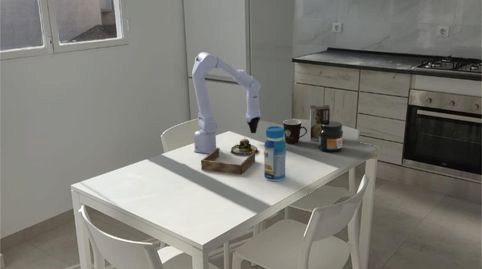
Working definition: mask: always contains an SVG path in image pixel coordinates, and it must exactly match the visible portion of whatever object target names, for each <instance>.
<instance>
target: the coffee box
mask: <svg viewBox="0 0 482 269" xmlns="http://www.w3.org/2000/svg"><path fill="white" fill-rule="evenodd" d="M309 106H310V107H309V108H310V109H309V110H310V111H309V141H311V142H315V141H316V142H317V141H318V142H319V130H320V129H321V128H320V126H321V123H322V122H325V121H331V118H330V117H331V108H330V105H329V104H327V105H326V104H321V105H320V104H319V105H318V104H316V105H315V104H313V105H312V104H310V105H309Z"/></svg>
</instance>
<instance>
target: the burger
mask: <svg viewBox="0 0 482 269" xmlns="http://www.w3.org/2000/svg"><path fill="white" fill-rule="evenodd" d="M230 150H231V151H230V153H232V152H233V153H235V154H239V155H247V154H248V155H250V154H252V153H253V152H255V154H257V153H258V147H257V146H255V145H253V144H251V143H250V140H249V139H248V138H242V139H240V141H239V144H238V143H236V144H234V145H233V146H232V147H231V148H230Z"/></svg>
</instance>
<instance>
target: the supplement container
mask: <svg viewBox="0 0 482 269" xmlns="http://www.w3.org/2000/svg"><path fill="white" fill-rule="evenodd" d="M320 128H321V129H320V130H319V141H318V149H319V150H321V151H322V152H325V153H339V152H340V151H342V149H343V139H344V138H343V135H344V130H343V124H342V122H340V121H335V120H330V121H325V122H322V123H321V126H320Z"/></svg>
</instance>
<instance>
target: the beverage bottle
mask: <svg viewBox="0 0 482 269" xmlns="http://www.w3.org/2000/svg"><path fill="white" fill-rule="evenodd" d="M265 137H266V140H265V141H264V143H263V144H264V145H263V146H264V150H263V156H264V159H263V160H264V161H263V162H264V165H263V166H264V173H263V174H264V175H263V176H264V179H266V180H267V181H270V182H279V181H283V180H284V179H285V178H286V155H287V150H286V146H287V145H286V144H287V143H285V139H284V138H285V136H284V127H282V126H278V125H271V126H268V127H266V128H265Z"/></svg>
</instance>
